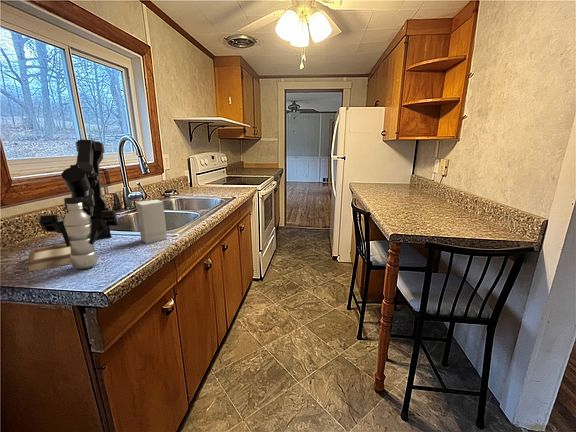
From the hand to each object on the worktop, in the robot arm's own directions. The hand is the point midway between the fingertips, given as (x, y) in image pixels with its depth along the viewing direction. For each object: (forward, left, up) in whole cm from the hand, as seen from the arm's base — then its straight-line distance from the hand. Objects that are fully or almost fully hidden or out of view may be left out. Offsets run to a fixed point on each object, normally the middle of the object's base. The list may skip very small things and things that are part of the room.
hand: (80, 245), depth 80 cm
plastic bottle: (0, -1, -8) cm, 8 cm away
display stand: (+6, -14, -8) cm, 17 cm away
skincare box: (-23, -16, -8) cm, 29 cm away
